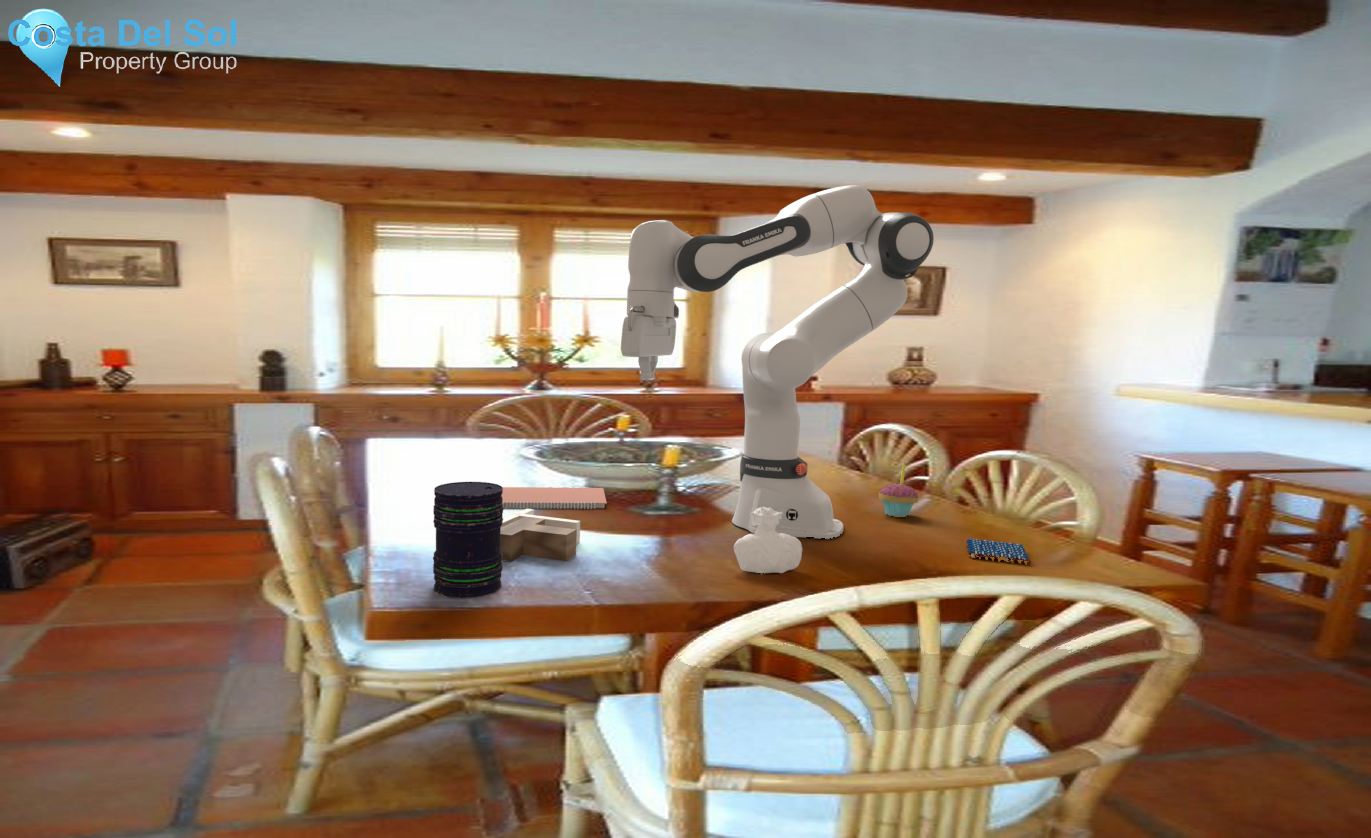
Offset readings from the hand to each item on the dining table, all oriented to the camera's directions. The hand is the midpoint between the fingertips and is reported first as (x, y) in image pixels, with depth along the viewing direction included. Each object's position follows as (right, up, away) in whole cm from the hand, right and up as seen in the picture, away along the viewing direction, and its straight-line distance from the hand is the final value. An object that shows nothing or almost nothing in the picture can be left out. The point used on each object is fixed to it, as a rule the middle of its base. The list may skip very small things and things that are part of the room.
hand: (647, 379), depth 152 cm
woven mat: (+65, -33, -6) cm, 73 cm away
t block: (-18, -31, -17) cm, 39 cm away
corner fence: (-21, -30, -16) cm, 40 cm away
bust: (+21, -33, -20) cm, 44 cm away
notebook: (-24, -26, +24) cm, 43 cm away
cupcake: (+54, -29, +23) cm, 66 cm away
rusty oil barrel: (-25, -33, -35) cm, 54 cm away
